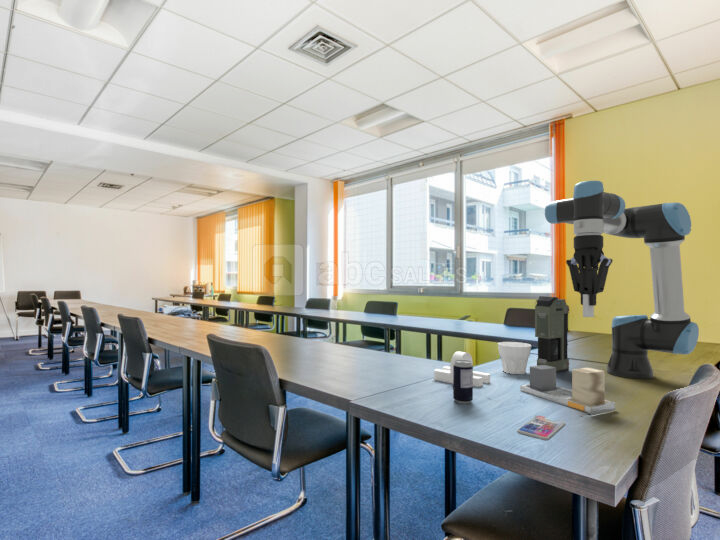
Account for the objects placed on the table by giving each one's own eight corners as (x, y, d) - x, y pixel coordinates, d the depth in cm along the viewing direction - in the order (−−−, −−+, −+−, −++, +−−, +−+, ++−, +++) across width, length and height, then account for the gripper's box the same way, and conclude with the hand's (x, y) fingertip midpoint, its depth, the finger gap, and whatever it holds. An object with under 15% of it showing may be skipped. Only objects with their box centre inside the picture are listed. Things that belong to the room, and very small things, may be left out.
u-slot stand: (446, 375, 155) (446, 347, 155) (491, 384, 143) (491, 353, 143) (432, 380, 148) (432, 350, 148) (478, 389, 136) (478, 357, 136)
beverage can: (473, 399, 124) (473, 360, 124) (472, 405, 118) (472, 364, 118) (454, 397, 125) (454, 359, 126) (452, 403, 120) (452, 362, 120)
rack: (543, 388, 137) (543, 382, 137) (614, 410, 115) (614, 402, 115) (519, 392, 132) (519, 385, 132) (589, 415, 110) (589, 407, 110)
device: (550, 375, 155) (550, 297, 156) (532, 371, 162) (532, 296, 162) (570, 370, 163) (570, 296, 164) (552, 367, 170) (552, 295, 170)
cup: (492, 368, 166) (492, 341, 166) (521, 368, 167) (521, 341, 168) (506, 376, 154) (506, 347, 154) (537, 375, 155) (537, 346, 155)
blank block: (544, 389, 134) (544, 364, 134) (556, 392, 130) (556, 367, 130) (529, 391, 131) (529, 366, 131) (541, 395, 127) (541, 369, 127)
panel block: (588, 401, 120) (588, 367, 120) (604, 406, 116) (604, 371, 116) (572, 404, 117) (572, 369, 117) (588, 409, 113) (588, 373, 113)
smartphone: (566, 421, 104) (547, 438, 93) (566, 425, 104) (547, 442, 93) (536, 414, 109) (515, 429, 98) (536, 418, 109) (515, 433, 98)
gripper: (559, 236, 122) (559, 315, 121) (601, 232, 110) (601, 319, 109) (576, 237, 125) (576, 314, 124) (619, 233, 113) (619, 318, 113)
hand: (588, 316), depth 117 cm, fingers closed
